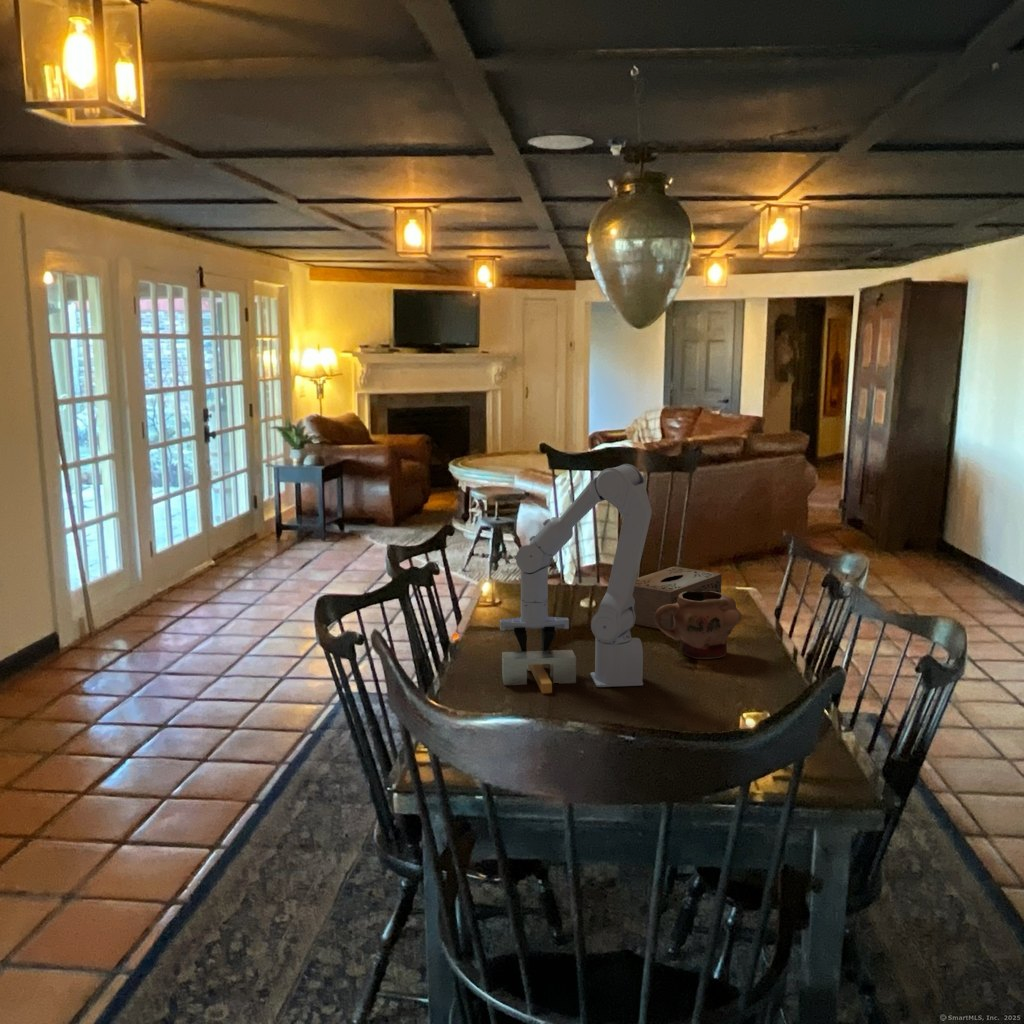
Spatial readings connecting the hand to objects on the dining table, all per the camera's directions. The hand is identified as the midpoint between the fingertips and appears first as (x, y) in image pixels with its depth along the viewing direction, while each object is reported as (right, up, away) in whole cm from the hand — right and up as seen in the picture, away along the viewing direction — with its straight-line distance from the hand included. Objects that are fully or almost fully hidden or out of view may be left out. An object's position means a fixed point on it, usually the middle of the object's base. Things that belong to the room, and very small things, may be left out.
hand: (534, 661), depth 196 cm
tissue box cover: (+36, +5, +42) cm, 55 cm away
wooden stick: (+1, -3, -7) cm, 7 cm away
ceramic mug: (+36, 0, +9) cm, 37 cm away
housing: (+1, -3, -7) cm, 8 cm away
